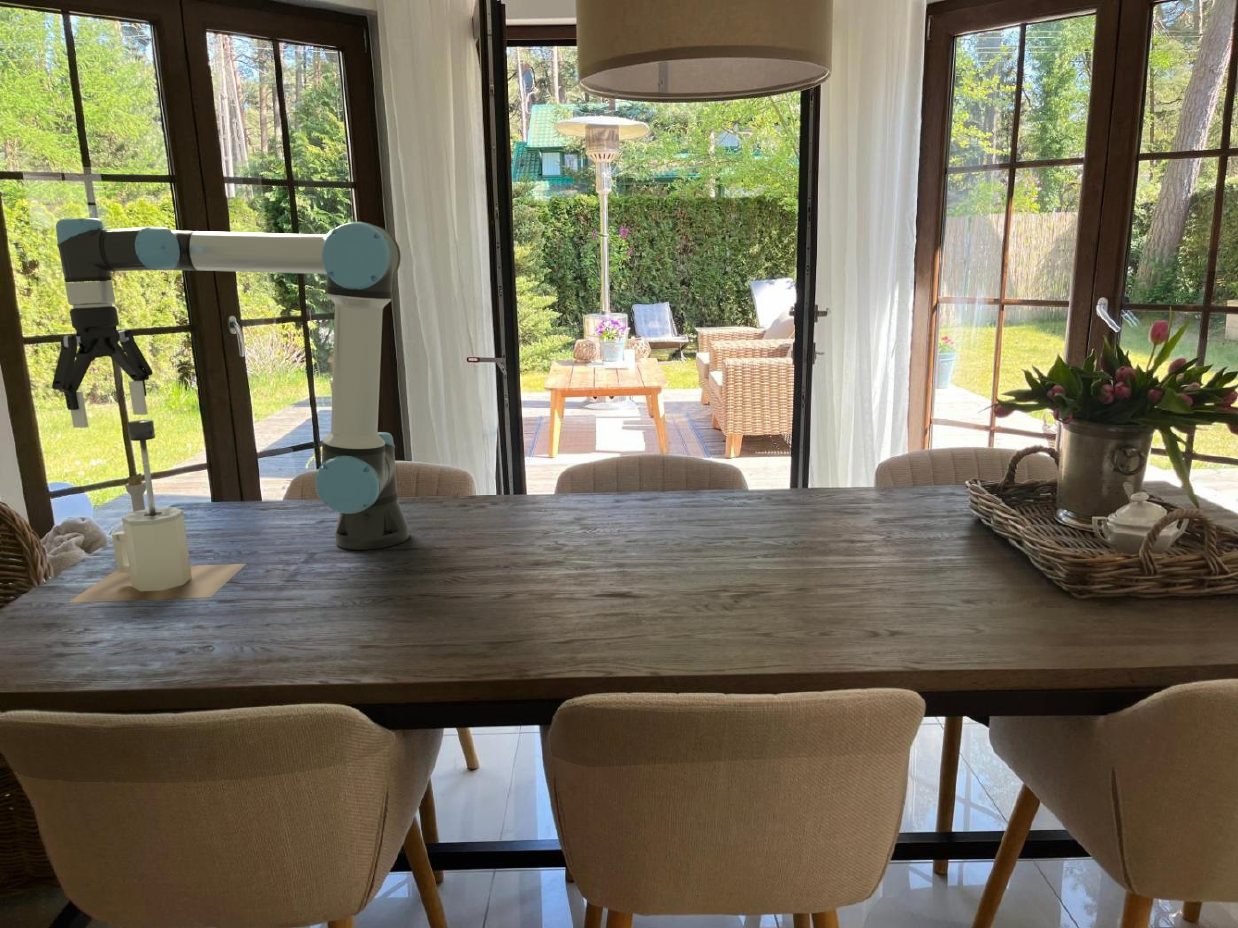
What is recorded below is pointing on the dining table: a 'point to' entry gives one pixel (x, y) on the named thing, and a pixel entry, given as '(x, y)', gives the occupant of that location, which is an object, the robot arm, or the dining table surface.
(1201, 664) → the dining table surface
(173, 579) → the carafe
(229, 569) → the board
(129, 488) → the potion bottle
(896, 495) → the dining table surface
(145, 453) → the plunger
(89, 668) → the dining table surface
